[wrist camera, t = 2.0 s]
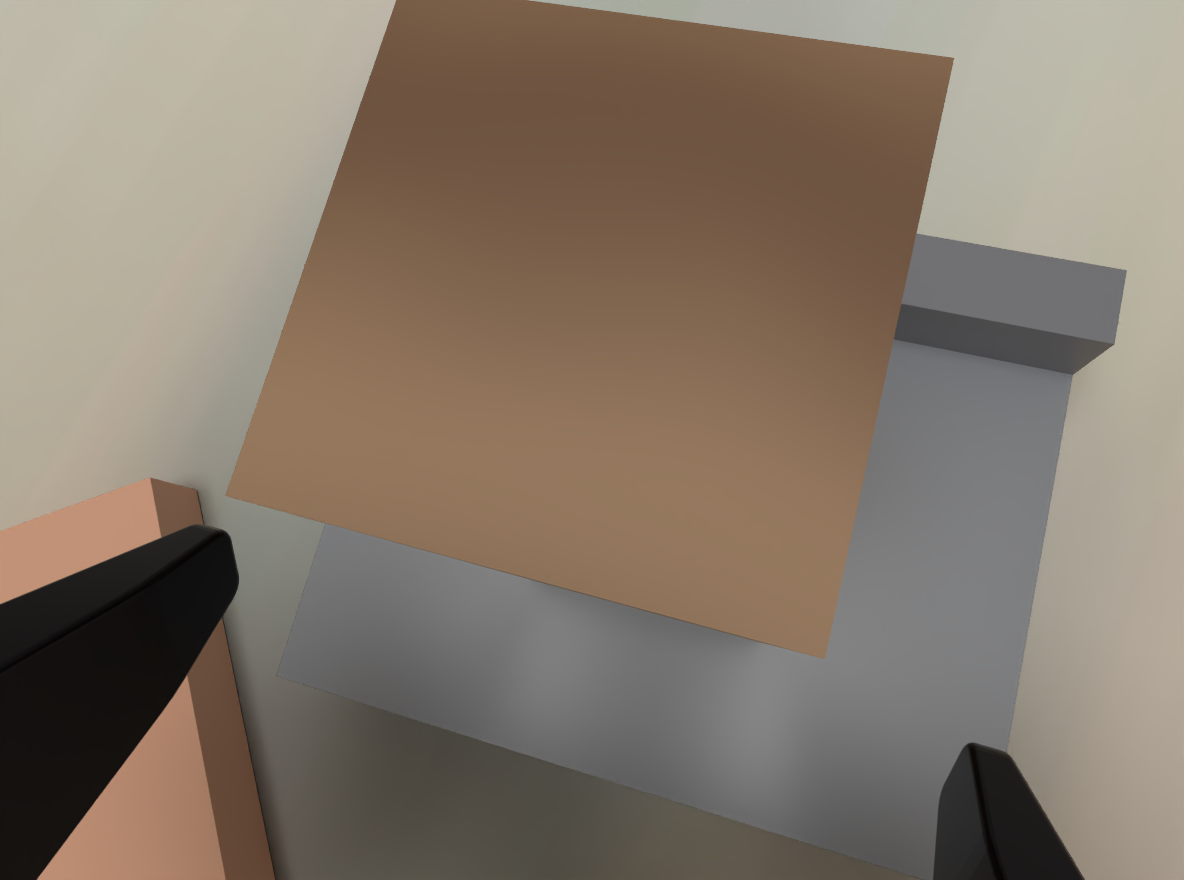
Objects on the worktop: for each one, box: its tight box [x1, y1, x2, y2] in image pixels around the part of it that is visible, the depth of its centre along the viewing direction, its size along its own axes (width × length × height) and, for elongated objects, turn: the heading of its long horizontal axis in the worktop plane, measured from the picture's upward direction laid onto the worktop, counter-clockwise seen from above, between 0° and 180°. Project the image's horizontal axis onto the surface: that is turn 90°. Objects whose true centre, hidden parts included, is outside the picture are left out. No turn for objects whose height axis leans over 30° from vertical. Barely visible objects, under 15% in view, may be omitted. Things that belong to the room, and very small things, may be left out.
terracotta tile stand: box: [0, 478, 275, 880], centre depth 22 cm, size 12×12×2 cm
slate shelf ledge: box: [276, 234, 1127, 880], centre depth 19 cm, size 12×15×5 cm
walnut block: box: [225, 0, 954, 659], centre depth 13 cm, size 5×5×12 cm
